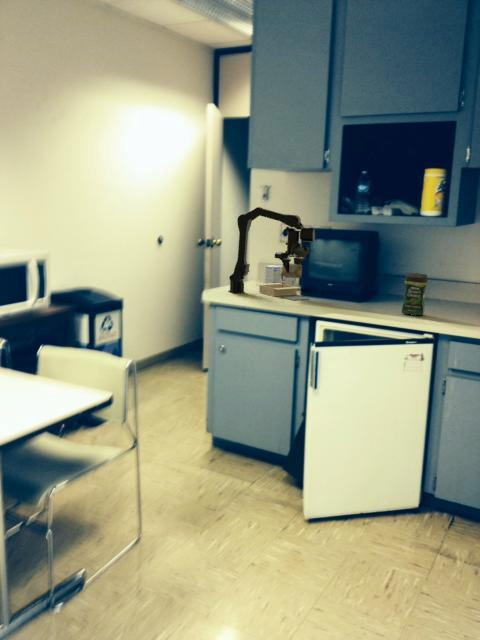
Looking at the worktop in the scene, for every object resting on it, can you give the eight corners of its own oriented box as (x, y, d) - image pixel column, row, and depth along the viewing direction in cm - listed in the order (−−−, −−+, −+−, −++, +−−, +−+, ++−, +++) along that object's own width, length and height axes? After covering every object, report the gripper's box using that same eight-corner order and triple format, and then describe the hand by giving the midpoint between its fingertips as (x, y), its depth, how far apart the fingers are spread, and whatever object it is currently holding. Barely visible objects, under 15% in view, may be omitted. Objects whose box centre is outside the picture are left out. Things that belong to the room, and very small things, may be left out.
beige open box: (277, 297, 309) (277, 289, 308) (255, 291, 324) (256, 284, 323) (300, 295, 317) (300, 287, 317) (278, 290, 332) (279, 282, 331)
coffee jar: (399, 314, 276) (403, 273, 272) (403, 312, 283) (407, 271, 279) (421, 317, 271) (426, 275, 268) (425, 314, 278) (429, 273, 275)
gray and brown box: (293, 278, 305) (294, 265, 303) (281, 275, 312) (282, 263, 311) (301, 277, 307) (302, 265, 306) (289, 275, 315) (290, 263, 313)
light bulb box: (276, 283, 359) (277, 264, 357) (285, 284, 355) (286, 265, 353) (263, 284, 352) (264, 265, 350) (272, 286, 347) (273, 266, 345)
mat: (293, 300, 301) (293, 299, 301) (281, 297, 308) (282, 296, 308) (309, 299, 307) (309, 298, 307) (297, 296, 314) (297, 295, 314)
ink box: (278, 287, 341) (280, 266, 339) (280, 286, 346) (282, 265, 343) (294, 289, 339) (295, 267, 336) (296, 287, 343) (297, 266, 341)
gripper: (289, 242, 294) (287, 275, 297) (318, 241, 305) (316, 273, 308) (274, 240, 303) (273, 272, 306) (303, 240, 314) (302, 270, 317)
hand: (291, 272), depth 309 cm, fingers closed on gray and brown box, 5 cm apart
